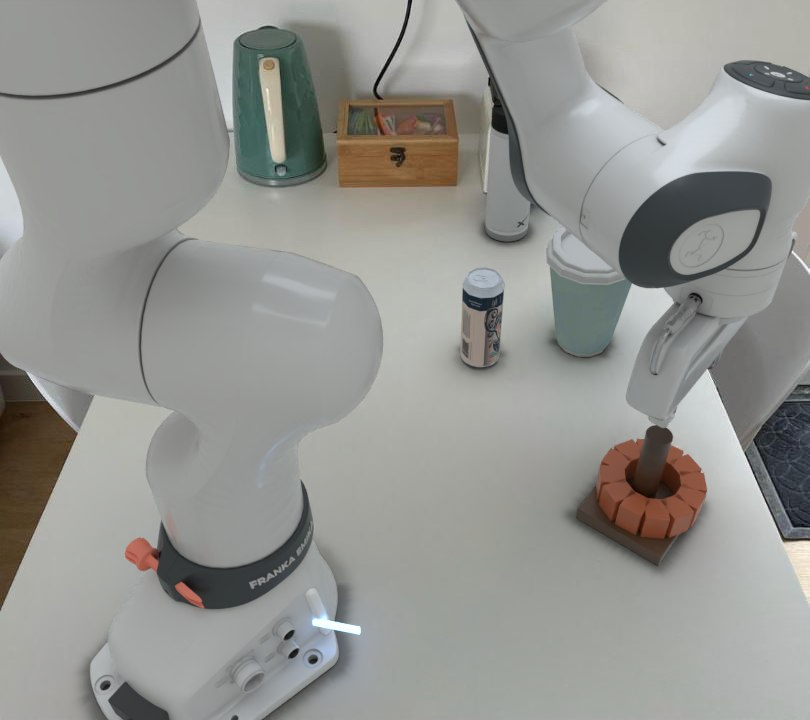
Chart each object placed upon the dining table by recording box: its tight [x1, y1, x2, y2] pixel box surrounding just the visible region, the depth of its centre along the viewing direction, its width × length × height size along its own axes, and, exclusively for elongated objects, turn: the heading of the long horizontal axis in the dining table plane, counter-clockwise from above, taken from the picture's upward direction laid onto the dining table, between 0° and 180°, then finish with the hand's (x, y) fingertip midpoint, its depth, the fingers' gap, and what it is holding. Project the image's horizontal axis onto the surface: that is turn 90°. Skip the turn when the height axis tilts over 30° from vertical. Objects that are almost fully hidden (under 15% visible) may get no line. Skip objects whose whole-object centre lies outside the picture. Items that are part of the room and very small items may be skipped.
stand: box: [575, 424, 682, 567], centre depth 77 cm, size 9×9×12 cm
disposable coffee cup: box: [545, 225, 633, 358], centre depth 96 cm, size 11×11×15 cm
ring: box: [595, 438, 708, 539], centre depth 80 cm, size 10×10×3 cm
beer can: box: [459, 266, 506, 368], centre depth 95 cm, size 5×5×12 cm
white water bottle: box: [484, 98, 532, 243], centre depth 112 cm, size 6×7×20 cm
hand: (684, 391), depth 74 cm, fingers open, 8 cm apart
